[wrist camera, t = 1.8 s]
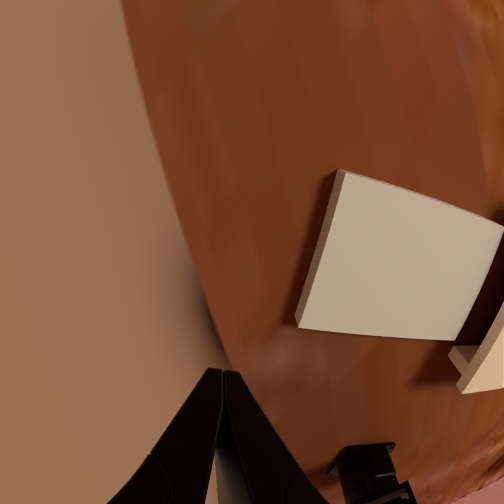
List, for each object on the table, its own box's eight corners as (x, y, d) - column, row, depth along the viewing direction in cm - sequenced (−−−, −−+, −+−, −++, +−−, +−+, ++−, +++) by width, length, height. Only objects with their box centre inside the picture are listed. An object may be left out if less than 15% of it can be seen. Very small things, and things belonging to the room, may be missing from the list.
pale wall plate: (443, 327, 24) (454, 340, 22) (293, 310, 22) (298, 327, 20) (489, 218, 20) (504, 227, 18) (335, 167, 18) (345, 172, 17)
